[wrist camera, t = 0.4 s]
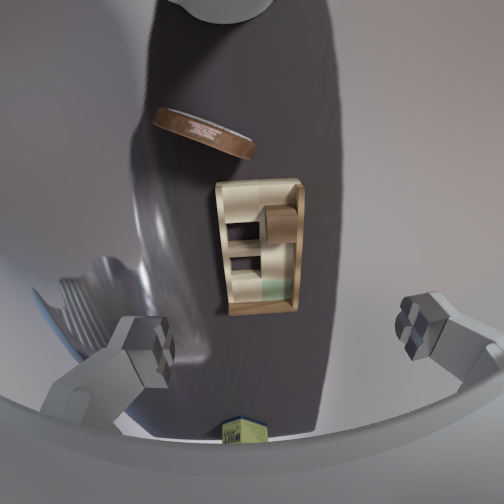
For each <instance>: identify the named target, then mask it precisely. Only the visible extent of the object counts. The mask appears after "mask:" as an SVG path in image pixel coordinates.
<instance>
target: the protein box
mask: <svg viewBox="0 0 504 504" xmlns="http://www.w3.org/2000/svg"><path fill="white" fill-rule="evenodd" d="M261 442H268V436H267V424H264V423H261V422H258V421H255V420H253V419H250V418H247V417H244V416H242V415H241V416H238V417H235V418H232V419H229V420H226V421H223V423H222V444H242V443H261Z"/></svg>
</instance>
